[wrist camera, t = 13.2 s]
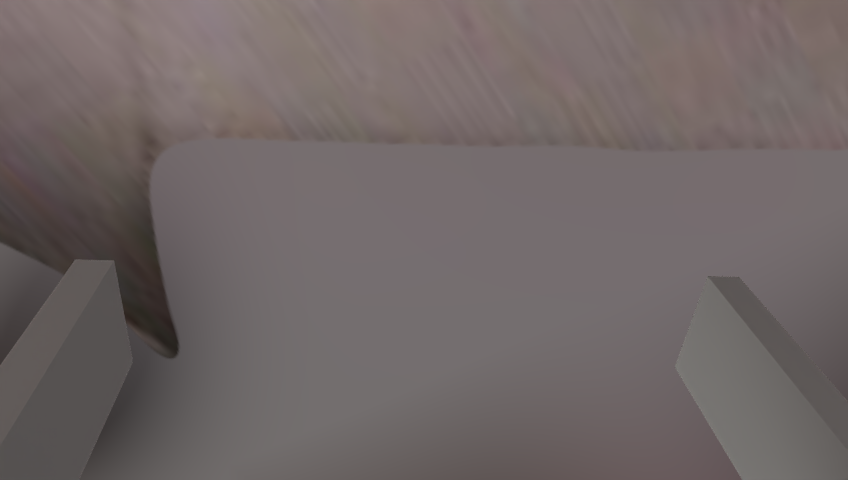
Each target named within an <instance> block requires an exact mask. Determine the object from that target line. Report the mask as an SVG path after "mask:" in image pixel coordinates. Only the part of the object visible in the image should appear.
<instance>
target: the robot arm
mask: <svg viewBox="0 0 848 480" xmlns="http://www.w3.org/2000/svg"><path fill="white" fill-rule="evenodd" d="M132 362H133V359H132V355H131V349H130V344H129V338H128V333H127V328H126V322H125V317H124V312H123V307H122V301H121V296H120V291H119V285H118V280H117V275H116V269H115V264H114V261H109V260H75V261H74V262H73V264H72V265H71V266H70V268H69V269H68V271H67V272H66V274H65V275H64V276H63V278H62V279H61V281H60V282H59V283H58V285H57V286H56V288H55V289H54V291H53V292H52V293H51V295H50V296H49V297H48V299H47V300H46V302H45V303H44V305H43V306H42V307H41V309H40V310H39V312H38V313H37V314H36V316H35V317H34V319H33V320H32V322H31V323H30V324H29V326H28V327H27V329H26V330H25V331H24V333H23V335H22V336H21V337H20V339H19V340H18V341H17V343H16V344H15V345H14V347H13V348H12V350H11V351H10V353H9V354H8V355H7V357H6V358H5V360H4V361H3V362H2V364H1V365H0V480H79V479H80V476H81V474H82V472H83V470H84V467H85V465H86V463H87V461H88V459H89V457H90V454H91V452H92V450H93V448H94V446H95V443H96V441H97V439H98V437H99V435H100V432H101V430H102V428H103V426H104V423H105V421H106V419H107V417H108V414H109V412H110V410H111V408H112V406H113V404H114V402H115V399H116V397H117V395H118V393H119V391H120V389H121V386H122V384H123V382H124V380H125V378H126V375H127V373H128V371H129V369H130V367H131V364H132ZM675 368H676V370H677V372H678V373H679V375H680V377H681V378H682V380H683V381H684V383H685V385H686V386H687V388H688V390H689V391H690V393H691V395H692V397H693V398H694V400H695V402H696V403H697V405H698V407H699V408H700V410H701V412H702V413H703V415H704V417H705V418H706V420H707V422H708V423H709V425H710V427H711V428H712V430H713V432H714V433H715V435H716V437H717V438H718V440H719V442H720V443H721V445H722V447H723V448H724V450H725V452H726V453H727V455H728V457H729V458H730V460H731V462H732V463H733V465H734V467H735V468H736V470H737V472H738V473H739V475H740V477H741V478H742V480H848V401H847V400H846V399H845V398H844V397H843V395H842V394H841V393H840V392H839V391H838V390H837V388H836V387H835V386H834V385H833V384H832V383H831V382H830V380H829V379H828V378H827V377H826V376H825V375H824V374H823V373H822V371H821V370H820V369H819V368H818V367H817V366H816V364H815V363H814V362H813V361H812V360H811V359H810V358H809V356H808V355H807V354H806V353H805V352H804V351H803V350H802V348H801V347H800V346H799V345H798V344H797V343H796V342H795V341H794V339H793V338H792V337H791V336H790V335H789V334H788V333H787V331H786V330H785V329H784V328H783V327H782V326H781V324H780V323H779V322H778V321H777V320H776V319H775V318H774V317H773V315H772V314H771V313H770V312H769V311H768V310H767V308H766V307H765V306H764V305H763V304H762V303H761V302H760V301H759V300H758V298H757V297H756V296H755V295H754V294H753V293H752V291H751V290H750V289H749V288H748V287H747V286H746V285H745V283H743V281H742V280H741V279H740V278H739V277H715V276H713V277H712V276H708V277H707V280H706V283H705V286H704V288H703V291H702V294H701V297H700V299H699V302H698V305H697V308H696V310H695V313H694V316H693V319H692V321H691V324H690V327H689V329H688V332H687V335H686V338H685V340H684V343H683V346H682V349H681V352H680V355H679V357H678V360H677V363H676V365H675Z"/></svg>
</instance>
